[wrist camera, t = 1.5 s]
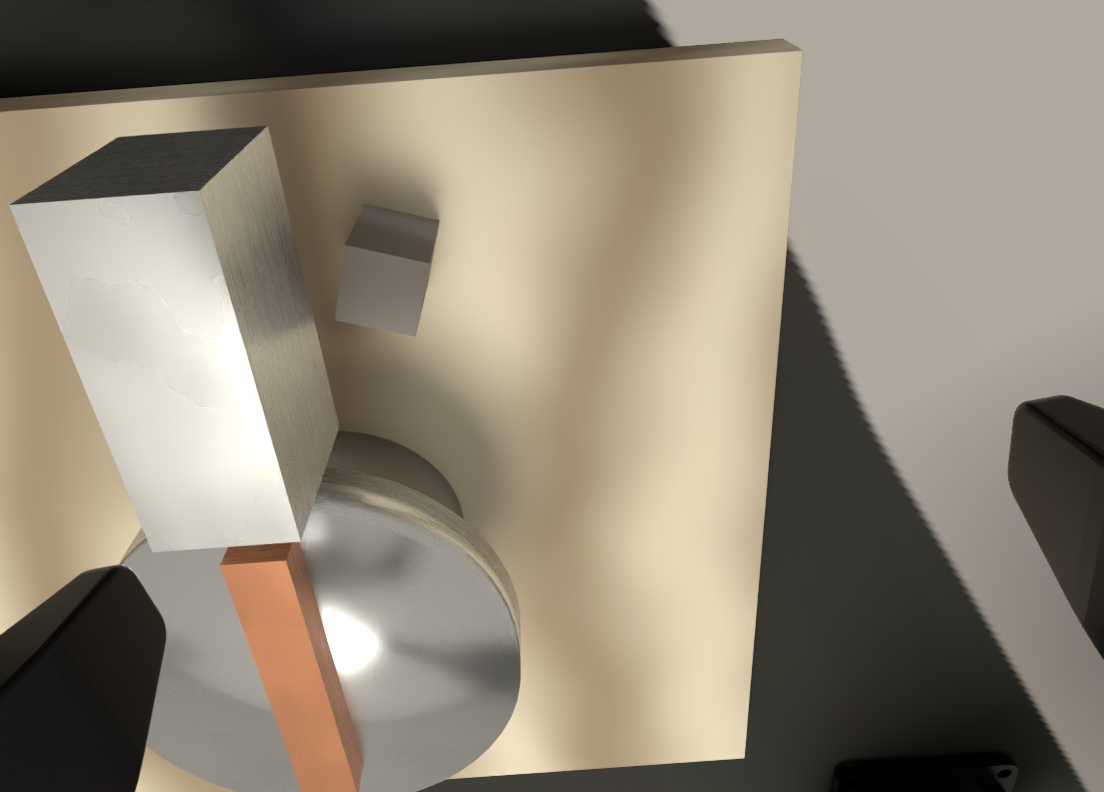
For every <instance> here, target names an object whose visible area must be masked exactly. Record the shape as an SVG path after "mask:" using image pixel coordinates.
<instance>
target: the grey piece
mask: <svg viewBox="0 0 1104 792" xmlns="http://www.w3.org/2000/svg"><path fill="white" fill-rule="evenodd" d="M9 207H10V209H11V212H12V214H13V216H14V219H15V221H16V224H17V226H18V229H19V231H20V233H21V236H22V238H23V241H24V243H25V245H26V248H27V250H28V253H29V255H30V258H31V260H32V262H33V265H34V267H35V270H36V272H37V274H38V277H39V279H40V282H41V284H42V287H43V289H44V291H45V294H46V296H47V299H48V301H49V303H50V306H51V308H52V311H53V313H54V316H55V318H56V320H57V323H58V325H59V328H60V330H61V333H62V335H63V337H64V340H65V342H66V345H67V347H68V349H69V352H70V354H71V357H72V359H73V362H74V364H75V366H76V369H77V371H78V374H79V376H80V378H81V381H82V383H83V386H84V388H85V391H86V393H87V395H88V398H89V400H90V403H91V405H92V407H93V410H94V412H95V415H96V417H97V420H98V422H99V424H100V427H101V429H102V432H103V434H104V436H105V439H106V441H107V444H108V446H109V449H110V451H111V453H112V456H113V458H114V461H115V463H116V465H117V468H118V470H119V473H120V475H121V478H122V480H123V482H124V485H125V487H126V490H127V492H128V495H129V497H130V499H131V502H132V504H133V507H134V509H135V511H136V514H137V516H138V519H139V521H140V524H141V526H142V528H141V529H140V531H139V532H138V534H137V535H136V537H135V538H134V540H133V541H132V543H131V544H130V546H129V548H128V549H127V551H126V553H125V554H124V556H123V558H122V559H121V561H120V563H119V564H121V565H126V566H128V567H129V568H131V569H132V570H133V571H134V572H135V573H136V575H137V576H138V578H139V580H140V581H141V583H142V584H143V586H144V588H145V589H146V591H147V592H148V594H149V596H150V597H151V599H152V600H153V602H154V604H155V605H156V607H157V608H158V610H159V612H160V613H161V615H162V617H163V619H164V622H165V626H166V645H165V651H164V656H163V661H162V666H161V671H160V676H159V682H158V687H157V692H156V697H155V702H154V707H153V713H152V718H151V723H150V728H149V733H148V738H147V744H146V746H147V747H148V748H150V749H151V750H153V751H154V752H155V753H157V754H158V755H159V756H161V757H162V758H164V759H165V760H167V761H169V762H170V763H172V764H174V765H175V766H177V767H179V768H180V769H182V770H184V771H186V772H188V773H191V774H193V775H195V776H197V777H199V778H201V779H203V780H205V781H208V782H211V783H213V784H216V785H219V786H221V787H224V788H227V789H230V790H233V791H237V792H416V791H419V790H422V789H424V788H427V787H429V786H432V785H434V784H437V783H439V782H441V781H443V780H445V779H447V778H449V777H451V776H453V775H455V774H456V773H458V772H460V771H461V770H463V769H464V768H466V767H467V766H468V765H470V764H471V763H473V762H474V761H476V760H477V759H478V758H479V757H480V756H481V755H482V754H483V753H484V752H486V751H487V750H488V749H489V748H490V747H491V746H492V744H493V743H494V742H495V741H496V740H497V738H498V737H499V736H500V735H501V734H502V732H503V730H504V729H505V727H506V725H507V724H508V722H509V720H510V718H511V717H512V714H513V711H514V708H515V706H516V703H517V700H518V695H519V689H520V683H521V623H520V608H519V603H518V598H517V594H516V590H515V588H514V585H513V583H512V580H511V578H510V575H509V573H508V571H507V570H506V568H505V566H504V565H503V563H502V561H501V560H500V558H499V556H498V555H497V554H496V552H495V551H494V550H493V549H492V548H491V546H490V545H489V544H488V543H487V541H486V540H485V539H484V538H483V537H482V536H481V535H480V534H479V533H478V532H477V531H476V530H475V529H474V528H472V527H471V526H470V525H469V524H468V523H467V522H466V521H465V520H463V519H462V518H461V517H459V516H458V515H456V514H455V513H454V512H452V511H451V510H449V509H448V508H447V507H445V506H444V505H442V504H440V503H438V502H437V501H435V500H433V499H431V498H429V497H428V496H426V495H424V494H422V493H420V492H418V491H415V490H413V489H411V488H408V487H406V486H403V485H401V484H399V483H396V482H394V481H390V480H387V479H384V478H380V477H377V476H374V475H370V474H367V473H362V472H357V471H352V470H346V469H341V468H335V467H326V465H327V462H328V459H329V456H330V453H331V450H332V447H333V444H334V441H335V438H336V435H337V432H338V429H339V423H338V419H337V415H336V411H335V406H334V402H333V398H332V394H331V390H330V385H329V381H328V377H327V373H326V368H325V364H324V360H323V356H322V352H321V347H320V343H319V339H318V335H317V330H316V326H315V322H314V318H313V314H312V309H311V305H310V301H309V297H308V292H307V288H306V284H305V280H304V276H303V271H302V267H301V263H300V259H299V254H298V250H297V246H296V242H295V238H294V233H293V229H292V225H291V221H290V216H289V212H288V208H287V204H286V200H285V195H284V191H283V187H282V183H281V179H280V174H279V170H278V166H277V162H276V157H275V153H274V149H273V145H272V141H271V136H270V132H269V128H268V126H256V127H243V128H229V129H216V130H203V131H190V132H177V133H164V134H151V135H137V136H124V137H117V138H116V139H114V140H113V141H111V142H109V143H108V144H106V145H105V146H103V147H101V148H100V149H98V150H97V151H95V152H93V153H92V154H90V155H88V156H87V157H85V158H84V159H82V160H80V161H79V162H77V163H76V164H74V165H72V166H71V167H69V168H68V169H66V170H64V171H63V172H61V173H60V174H58V175H56V176H55V177H53V178H52V179H50V180H48V181H47V182H45V183H43V184H42V185H40V186H39V187H37V188H35V189H34V190H32V191H31V192H29V193H27V194H26V195H24V196H23V197H21V198H19V199H18V200H16V201H15V202H13V203H11V204H10V205H9Z"/></svg>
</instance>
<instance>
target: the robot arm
mask: <svg viewBox="0 0 1104 792" xmlns="http://www.w3.org/2000/svg"><path fill="white" fill-rule="evenodd" d="M1008 480H1009V484H1010V488H1011V491H1012V493H1013V496H1014V498H1015V500H1016V502H1017V503H1018V505H1019V507H1020V509H1021V511H1022V513H1023V515H1024V517H1025V519H1026V521H1027V523H1028V524H1029V527H1030V528H1031V530H1032V532H1033V534H1034V536H1035V538H1036V540H1037V542H1038V544H1039V546H1040V548H1041V549H1042V552H1043V553H1044V555H1045V557H1046V559H1047V561H1048V563H1049V565H1050V567H1051V569H1052V571H1053V573H1054V575H1055V576H1056V578H1057V580H1058V582H1059V584H1060V586H1061V588H1062V590H1063V592H1064V594H1065V596H1066V598H1067V600H1068V602H1069V603H1070V605H1071V607H1072V609H1073V611H1074V613H1075V614H1076V616H1077V618H1078V620H1079V621H1080V623H1081V625H1082V627H1083V628H1084V630H1085V632H1086V633H1087V635H1088V636H1089V638H1090V639H1091V641H1092V643H1093V644H1094V646H1095V647H1096V649H1097V650H1098V652H1099V653H1100V655H1101V656H1102V658H1103V659H1104V409H1103V408H1101V407H1098V406H1095V405H1092V404H1090V403H1087V402H1084V401H1081V400H1078V399H1076V398H1073V397H1069V396H1065V395H1058V396H1052V397H1047V398H1041V399H1036V400H1030V401H1025V402H1023V403H1022V404H1020V405H1019V406H1018V407H1017V409H1016V411H1015V414H1014V418H1013V427H1012V435H1011V445H1010V453H1009V462H1008ZM165 645H166V626H165V622H164V619H163V617H162V615H161V613H160V612H159V610H158V608H157V607H156V605H155V604H154V602H153V600H152V599H151V597H150V596H149V594H148V592H147V591H146V589H145V588H144V586H143V584H142V583H141V581H140V580H139V578H138V576H137V575H136V573H135V572H134V571H133V570H132V569H131V568H129V567H128V566H126V565H121V564H118V565H112V566H107V567H101V568H95V569H90V570H87V571H85V572H82V573H81V574H79V575H78V576H77V577H75V578H74V579H73V580H71V581H70V582H69V583H67V584H66V585H65V586H63V587H62V588H61V589H60V590H58V591H57V592H56V593H54V594H53V595H52V596H50V597H49V598H48V599H46V600H45V601H44V602H43V603H41V604H40V605H39V606H37V607H36V608H35V609H33V610H32V611H31V612H29V613H28V614H27V615H26V616H24V617H23V618H22V619H20V620H19V621H18V622H16V623H15V624H14V625H13V626H11V627H10V628H9V629H7V630H6V631H5V632H3V633H2V634H1V635H0V792H135V791H136V788H137V784H138V780H139V776H140V772H141V767H142V763H143V758H144V754H145V749H146V744H147V738H148V733H149V728H150V723H151V718H152V713H153V707H154V702H155V697H156V692H157V687H158V682H159V676H160V671H161V666H162V661H163V656H164V651H165ZM1018 773H1019V769H1018V767H1017V766H1016V764H1015V762H1014V760H1013V759H1012V757H1010V756H1008V755H996V756H982V757H968V758H954V759H939V760H925V761H911V762H897V763H883V764H868V765H854V766H846V767H843V768H841V769H839V770H838V771H837V772H836V773H835V775H834V780H833V786H832V792H1012V790H1013V787H1014V784H1015V781H1016V778H1017V776H1018Z"/></svg>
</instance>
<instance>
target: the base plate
mask: <svg viewBox="0 0 1104 792" xmlns="http://www.w3.org/2000/svg"><path fill="white" fill-rule="evenodd" d="M802 57H803V50H801V49H799V48H798V47H796V46H794V45H792V44H790V43H789V42H787V41H785V40H784V39H774V40H761V41H749V42H748V41H747V42H735V43H722V44H708V45H695V46H682V47H669V48H656V49H643V50H630V51H617V52H604V53H590V54H577V55H564V56H551V57H538V58H525V59H512V60H499V61H486V62H473V63H460V64H447V65H434V66H420V67H407V68H394V69H381V70H368V71H355V72H342V73H329V74H316V75H303V76H290V77H277V78H263V79H250V80H237V81H224V82H211V83H198V84H185V85H172V86H159V87H146V88H133V89H120V90H106V91H93V92H80V93H67V94H54V95H41V96H28V97H15V98H2V99H0V635H1V634H2V633H3V632H5V631H6V630H7V629H9V628H10V627H11V626H13V625H14V624H15V623H16V622H18V621H19V620H20V619H22V618H23V617H24V616H26V615H27V614H28V613H29V612H31V611H32V610H33V609H35V608H36V607H37V606H39V605H40V604H41V603H43V602H44V601H45V600H46V599H48V598H49V597H50V596H52V595H53V594H54V593H56V592H57V591H58V590H60V589H61V588H62V587H63V586H65V585H66V584H67V583H69V582H70V581H71V580H73V579H74V578H75V577H77V576H78V575H79V574H81V573H82V572H85V571H87V570H90V569H95V568H101V567H107V566H112V565H118V564H119V563H120V561H121V559H122V558H123V556H124V554H125V553H126V551H127V549H128V548H129V546H130V544H131V543H132V541H133V540H134V538H135V537H136V535H137V534H138V532H139V531H140V529H141V528H142V526H141V524H140V521H139V519H138V516H137V514H136V511H135V509H134V507H133V504H132V502H131V499H130V497H129V495H128V492H127V490H126V487H125V485H124V482H123V480H122V478H121V475H120V473H119V470H118V468H117V465H116V463H115V461H114V458H113V456H112V453H111V451H110V449H109V446H108V444H107V441H106V439H105V436H104V434H103V432H102V429H101V427H100V424H99V422H98V420H97V417H96V415H95V412H94V410H93V407H92V405H91V403H90V400H89V398H88V395H87V393H86V391H85V388H84V386H83V383H82V381H81V378H80V376H79V374H78V371H77V369H76V366H75V364H74V362H73V359H72V357H71V354H70V352H69V349H68V347H67V345H66V342H65V340H64V337H63V335H62V333H61V330H60V328H59V325H58V323H57V320H56V318H55V316H54V313H53V311H52V308H51V306H50V303H49V301H48V299H47V296H46V294H45V291H44V289H43V287H42V284H41V282H40V279H39V277H38V274H37V272H36V270H35V267H34V265H33V262H32V260H31V258H30V255H29V253H28V250H27V248H26V245H25V243H24V241H23V238H22V236H21V233H20V231H19V229H18V226H17V224H16V221H15V219H14V216H13V214H12V212H11V209H10V207H9V205H10V204H11V203H13V202H15V201H16V200H18V199H19V198H21V197H23V196H24V195H26V194H27V193H29V192H31V191H32V190H34V189H35V188H37V187H39V186H40V185H42V184H43V183H45V182H47V181H48V180H50V179H52V178H53V177H55V176H56V175H58V174H60V173H61V172H63V171H64V170H66V169H68V168H69V167H71V166H72V165H74V164H76V163H77V162H79V161H80V160H82V159H84V158H85V157H87V156H88V155H90V154H92V153H93V152H95V151H97V150H98V149H100V148H101V147H103V146H105V145H106V144H108V143H109V142H111V141H113V140H114V139H116V138H117V137H124V136H137V135H151V134H164V133H177V132H190V131H203V130H216V129H229V128H243V127H256V126H268V128H269V132H270V136H271V141H272V145H273V149H274V153H275V157H276V162H277V166H278V170H279V174H280V179H281V183H282V187H283V191H284V195H285V200H286V204H287V208H288V212H289V216H290V221H291V225H292V229H293V233H294V238H295V242H296V246H297V250H298V254H299V259H300V263H301V267H302V271H303V276H304V280H305V284H306V288H307V292H308V297H309V301H310V305H311V309H312V314H313V318H314V322H315V326H316V330H317V335H318V339H319V343H320V347H321V352H322V356H323V360H324V364H325V368H326V373H327V377H328V381H329V385H330V390H331V394H332V398H333V402H334V406H335V411H336V415H337V419H338V423H339V429H338V432H337V435H336V438H335V441H334V444H333V447H332V450H331V453H330V456H329V459H328V462H327V465H326V467H335V468H341V469H346V470H352V471H357V472H362V473H367V474H370V475H374V476H377V477H380V478H384V479H387V480H390V481H394V482H396V483H399V484H401V485H403V486H406V487H408V488H411V489H413V490H415V491H418V492H420V493H422V494H424V495H426V496H428V497H429V498H431V499H433V500H435V501H437V502H438V503H440V504H442V505H444V506H445V507H447V508H448V509H449V510H451V511H452V512H454V513H455V514H456V515H458V516H459V517H461V518H462V519H463V520H465V521H466V522H467V523H468V524H469V525H470V526H471V527H472V528H474V529H475V530H476V531H477V532H478V533H479V534H480V535H481V536H482V537H483V538H484V539H485V540H486V541H487V543H488V544H489V545H490V546H491V548H492V549H493V550H494V551H495V552H496V554H497V555H498V556H499V558H500V560H501V561H502V563H503V565H504V566H505V568H506V570H507V571H508V573H509V575H510V578H511V580H512V583H513V585H514V588H515V590H516V594H517V598H518V603H519V608H520V623H521V683H520V689H519V695H518V700H517V703H516V706H515V708H514V711H513V714H512V717H511V718H510V720H509V722H508V724H507V725H506V727H505V729H504V730H503V732H502V734H501V735H500V736H499V737H498V738H497V740H496V741H495V742H494V743H493V744H492V746H491V747H490V748H489V749H488V750H487V751H486V752H484V753H483V754H482V755H481V756H480V757H479V758H478V759H477V760H476V761H474V762H473V763H471V764H470V765H468V766H467V767H466V768H464V769H463V770H461V771H460V772H458V773H456V774H455V775H453V776H451V777H449V778H447V779H455V778H469V777H483V776H498V775H512V774H526V773H540V772H554V771H568V770H583V769H597V768H611V767H625V766H639V765H653V764H668V763H682V762H696V761H710V760H724V759H738V758H744V756H745V744H746V732H747V720H748V708H749V696H750V684H751V672H752V659H753V647H754V635H755V623H756V611H757V599H758V587H759V575H760V563H761V551H762V539H763V527H764V515H765V503H766V491H767V479H768V467H769V455H770V442H771V430H772V418H773V406H774V394H775V382H776V370H777V358H778V346H779V334H780V322H781V310H782V298H783V286H784V274H785V262H786V250H787V238H788V225H789V213H790V201H791V189H792V177H793V165H794V152H795V141H796V129H797V117H798V104H799V92H800V80H801V69H802ZM135 792H237V791H233V790H230V789H227V788H224V787H221V786H219V785H216V784H213V783H211V782H208V781H205V780H203V779H201V778H199V777H197V776H195V775H193V774H191V773H188V772H186V771H184V770H182V769H180V768H179V767H177V766H175V765H174V764H172V763H170V762H169V761H167V760H165V759H164V758H162V757H161V756H159V755H158V754H157V753H155V752H154V751H153V750H151V749H150V748H148V747H147V746H146V749H145V754H144V758H143V763H142V767H141V772H140V776H139V780H138V784H137V788H136V791H135Z"/></svg>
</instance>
